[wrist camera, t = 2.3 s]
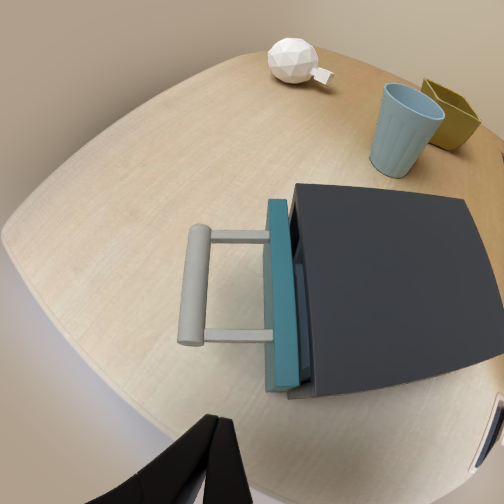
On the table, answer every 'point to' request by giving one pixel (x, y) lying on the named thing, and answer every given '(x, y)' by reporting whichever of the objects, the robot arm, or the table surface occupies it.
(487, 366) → the table surface
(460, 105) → the flower pot
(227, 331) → the teal drawer
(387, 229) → the drawer cabinet
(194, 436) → the robot arm
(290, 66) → the perfume bottle
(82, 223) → the table surface
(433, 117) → the cup
